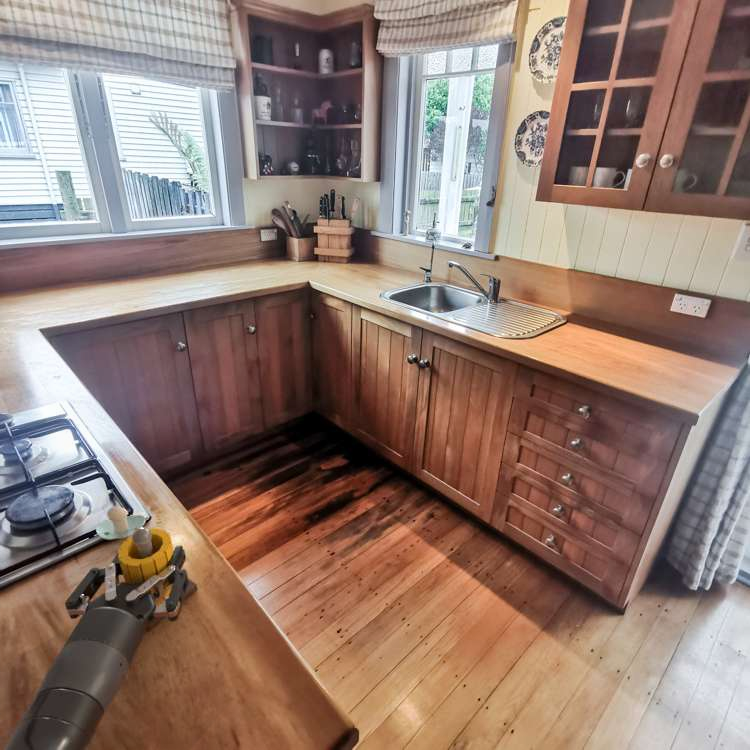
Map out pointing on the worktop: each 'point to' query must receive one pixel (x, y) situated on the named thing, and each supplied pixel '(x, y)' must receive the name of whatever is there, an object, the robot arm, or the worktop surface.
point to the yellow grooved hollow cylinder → (146, 559)
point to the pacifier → (119, 524)
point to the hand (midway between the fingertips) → (155, 549)
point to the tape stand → (146, 550)
